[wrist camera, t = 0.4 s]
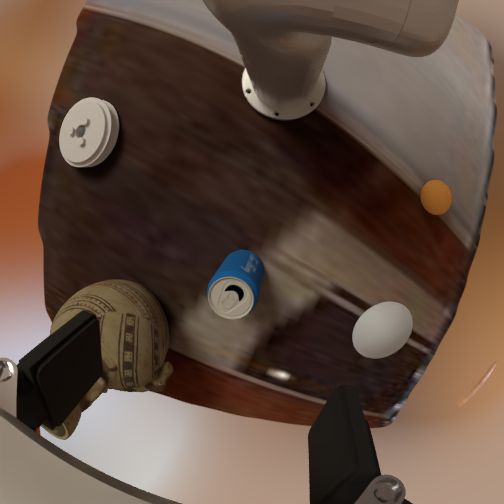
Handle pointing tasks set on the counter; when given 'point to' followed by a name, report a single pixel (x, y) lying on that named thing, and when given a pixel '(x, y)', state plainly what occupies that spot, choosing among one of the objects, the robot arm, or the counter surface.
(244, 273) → the beverage can
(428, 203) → the ball
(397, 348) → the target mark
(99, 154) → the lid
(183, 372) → the counter surface
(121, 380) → the ceramic vessel
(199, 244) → the counter surface
